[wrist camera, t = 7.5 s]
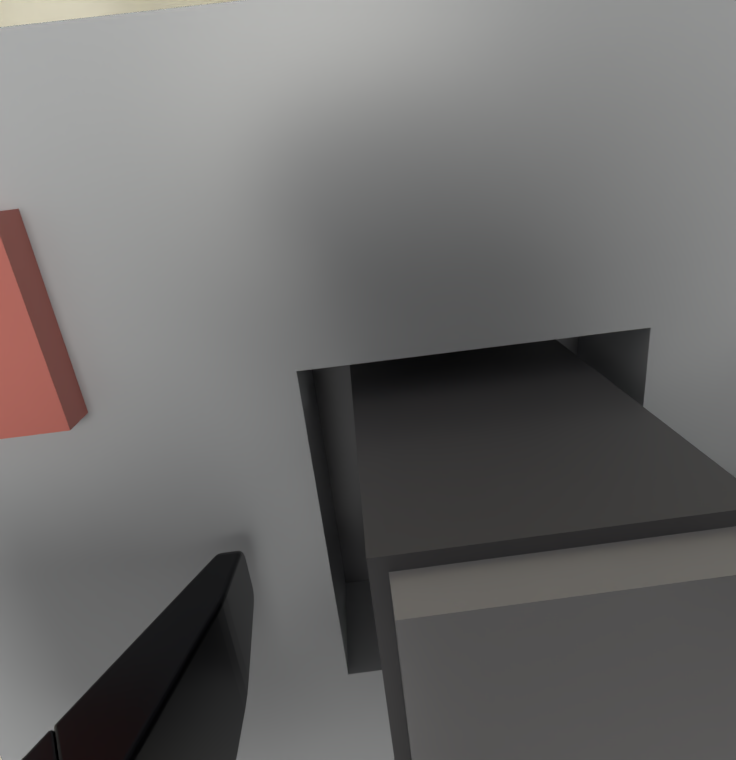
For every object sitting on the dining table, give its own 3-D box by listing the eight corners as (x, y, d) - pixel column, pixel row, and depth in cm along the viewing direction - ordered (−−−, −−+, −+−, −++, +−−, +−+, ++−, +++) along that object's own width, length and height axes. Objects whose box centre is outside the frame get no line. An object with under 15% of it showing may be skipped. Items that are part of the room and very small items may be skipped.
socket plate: (986, -31, 9) (1352, -140, 6) (803, 641, 15) (935, 772, 12) (-164, 100, 9) (-457, 61, 6) (110, 734, 15) (47, 896, 12)
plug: (544, 330, 11) (824, 545, 5) (541, 531, 13) (737, 872, 7) (349, 355, 11) (370, 606, 5) (374, 553, 13) (414, 918, 6)
